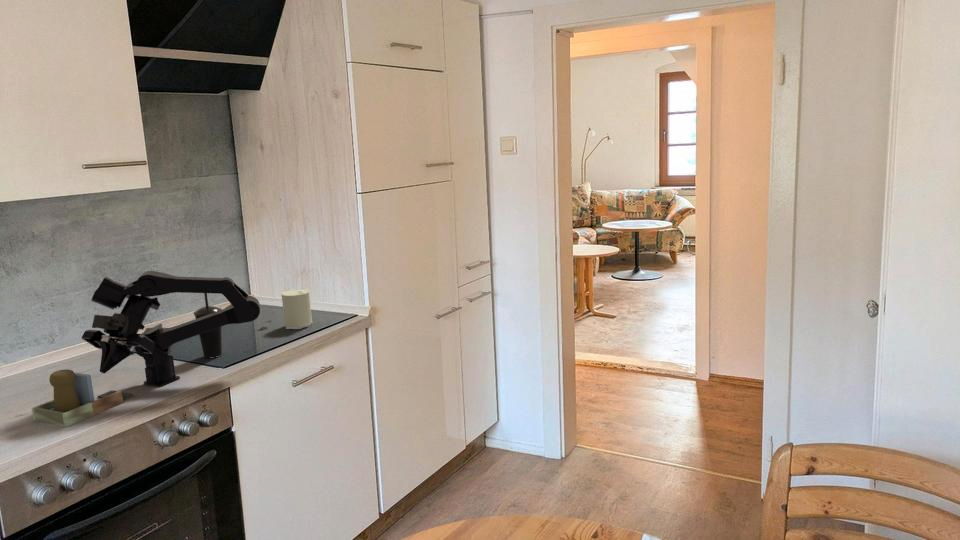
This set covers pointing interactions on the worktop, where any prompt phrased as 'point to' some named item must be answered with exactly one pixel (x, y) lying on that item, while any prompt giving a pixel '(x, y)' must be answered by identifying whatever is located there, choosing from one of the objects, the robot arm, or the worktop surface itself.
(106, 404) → the track
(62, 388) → the cork
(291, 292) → the can
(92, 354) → the worktop surface
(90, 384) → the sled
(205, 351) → the drinking cup
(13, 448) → the worktop surface
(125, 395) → the pit mat
